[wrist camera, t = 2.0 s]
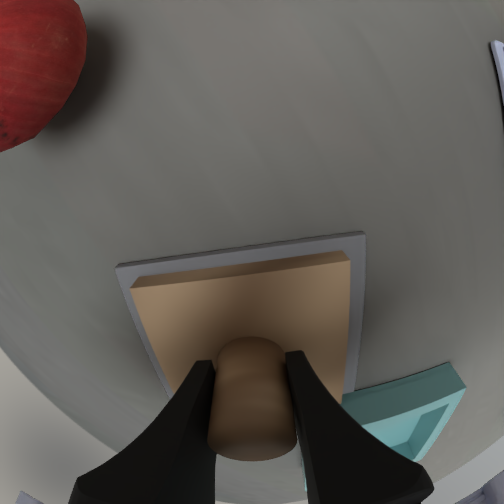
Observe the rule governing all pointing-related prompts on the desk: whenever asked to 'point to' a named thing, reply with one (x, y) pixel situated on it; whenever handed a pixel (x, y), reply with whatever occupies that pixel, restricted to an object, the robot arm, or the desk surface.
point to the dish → (407, 410)
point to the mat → (346, 242)
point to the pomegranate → (37, 64)
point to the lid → (251, 340)
